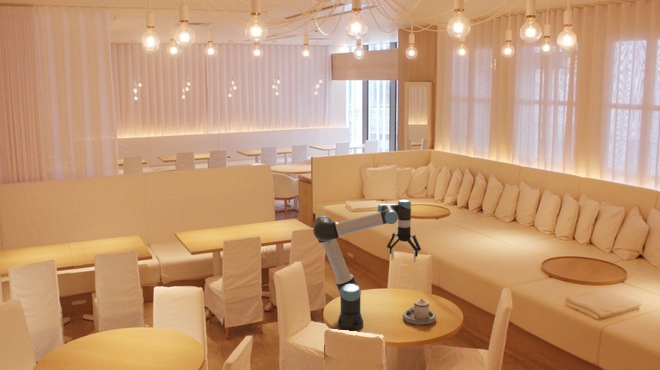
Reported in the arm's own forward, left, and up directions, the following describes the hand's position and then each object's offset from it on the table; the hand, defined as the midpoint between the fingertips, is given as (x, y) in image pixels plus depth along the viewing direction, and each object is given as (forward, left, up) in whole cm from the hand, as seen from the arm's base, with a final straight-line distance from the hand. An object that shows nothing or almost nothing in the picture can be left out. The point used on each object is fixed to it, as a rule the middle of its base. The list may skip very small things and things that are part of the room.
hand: (403, 260), depth 383 cm
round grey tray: (+11, -3, -35) cm, 37 cm away
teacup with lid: (+11, -3, -34) cm, 36 cm away
